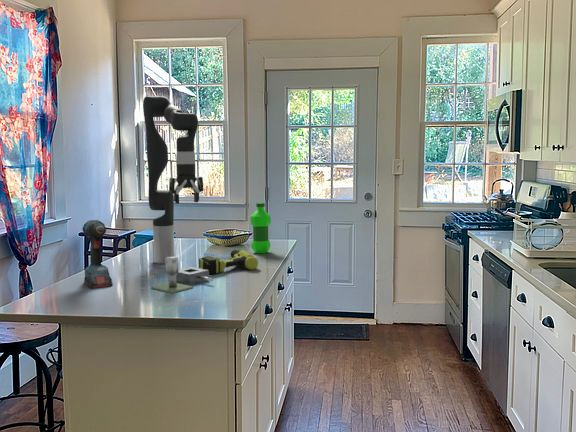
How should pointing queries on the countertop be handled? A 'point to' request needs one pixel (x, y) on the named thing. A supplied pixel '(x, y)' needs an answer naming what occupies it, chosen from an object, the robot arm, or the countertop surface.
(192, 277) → the block
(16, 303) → the countertop surface
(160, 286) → the mat
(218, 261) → the cordless drill
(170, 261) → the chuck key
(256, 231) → the plastic bottle
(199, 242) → the countertop surface
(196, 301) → the countertop surface
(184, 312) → the countertop surface
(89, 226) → the power drill
